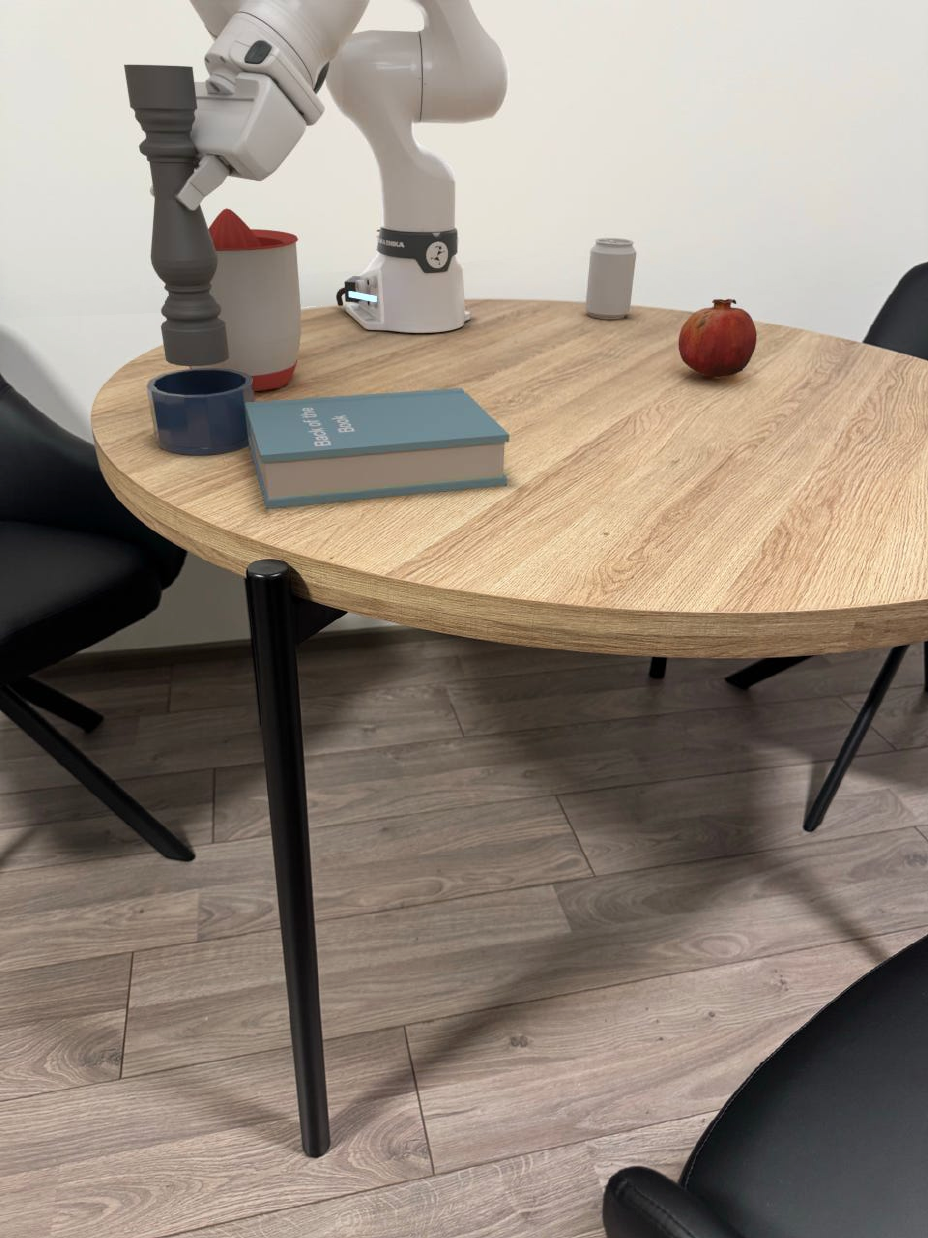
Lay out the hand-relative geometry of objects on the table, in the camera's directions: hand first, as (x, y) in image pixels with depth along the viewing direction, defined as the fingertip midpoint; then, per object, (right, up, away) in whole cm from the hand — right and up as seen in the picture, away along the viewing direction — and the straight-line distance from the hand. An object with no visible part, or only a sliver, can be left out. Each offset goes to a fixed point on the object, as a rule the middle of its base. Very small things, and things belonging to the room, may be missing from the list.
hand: (170, 201), depth 81 cm
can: (+51, +13, +68) cm, 86 cm away
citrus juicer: (-1, -8, +31) cm, 32 cm away
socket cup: (0, -19, +12) cm, 23 cm away
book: (+18, -23, +7) cm, 30 cm away
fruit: (+61, -6, +37) cm, 71 cm away
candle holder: (0, -12, +8) cm, 15 cm away
